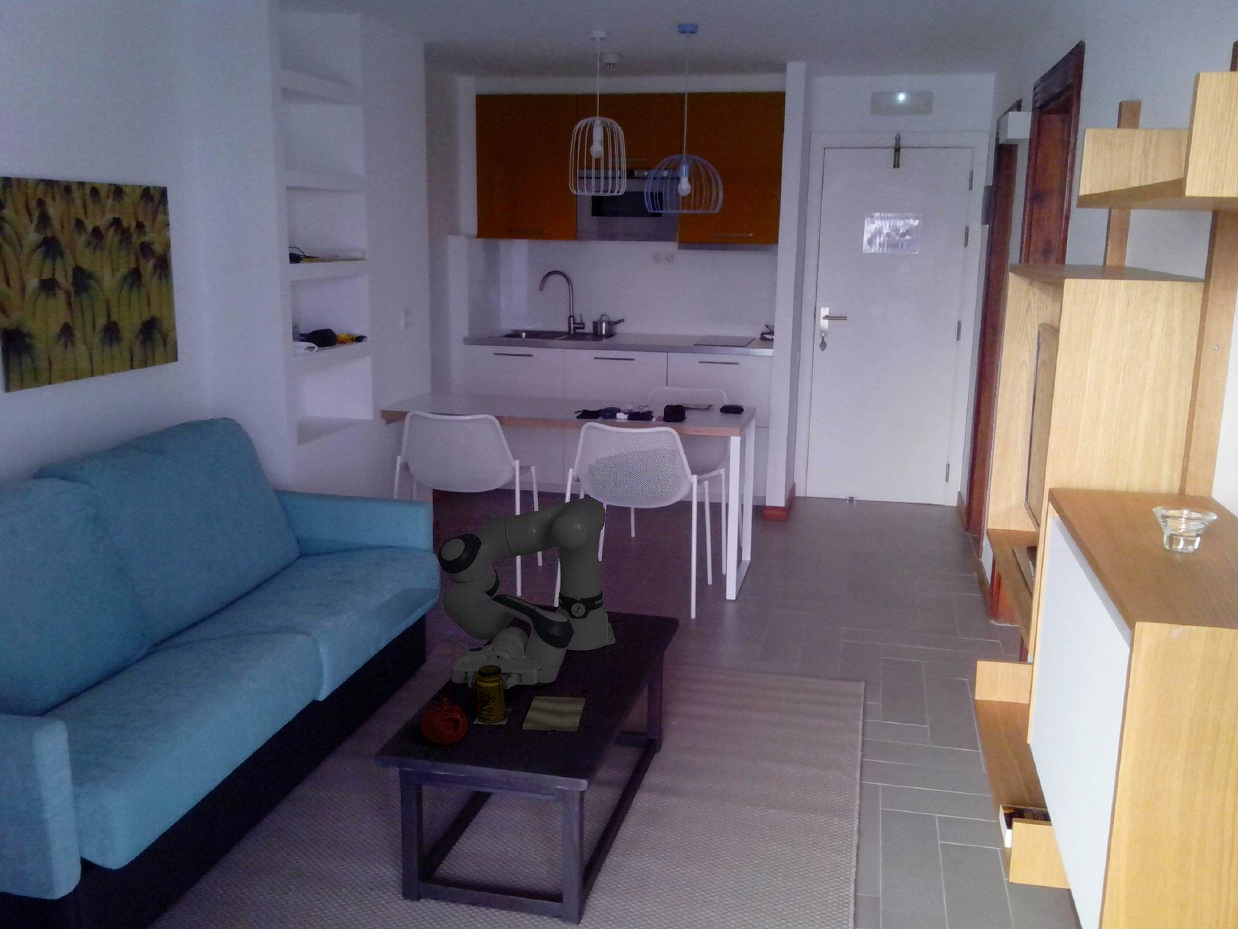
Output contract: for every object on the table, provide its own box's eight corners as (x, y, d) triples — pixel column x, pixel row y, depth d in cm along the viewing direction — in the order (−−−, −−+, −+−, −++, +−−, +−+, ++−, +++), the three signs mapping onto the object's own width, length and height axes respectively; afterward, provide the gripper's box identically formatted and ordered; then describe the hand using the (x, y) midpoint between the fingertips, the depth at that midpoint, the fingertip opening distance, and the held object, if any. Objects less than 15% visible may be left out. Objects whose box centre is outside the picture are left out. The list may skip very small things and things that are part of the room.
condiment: (472, 724, 235) (471, 673, 233) (481, 708, 243) (479, 659, 241) (504, 725, 234) (503, 674, 232) (512, 710, 242) (510, 660, 240)
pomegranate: (412, 744, 225) (410, 704, 224) (440, 726, 234) (437, 686, 232) (451, 752, 221) (448, 711, 219) (477, 733, 230) (475, 693, 228)
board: (534, 700, 248) (534, 696, 247) (585, 702, 247) (585, 698, 246) (522, 729, 232) (522, 725, 232) (576, 731, 231) (576, 727, 231)
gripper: (544, 676, 249) (534, 699, 235) (459, 673, 251) (445, 697, 237) (543, 651, 248) (534, 673, 234) (458, 648, 249) (444, 670, 236)
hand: (488, 685), depth 236 cm, fingers open, 6 cm apart
